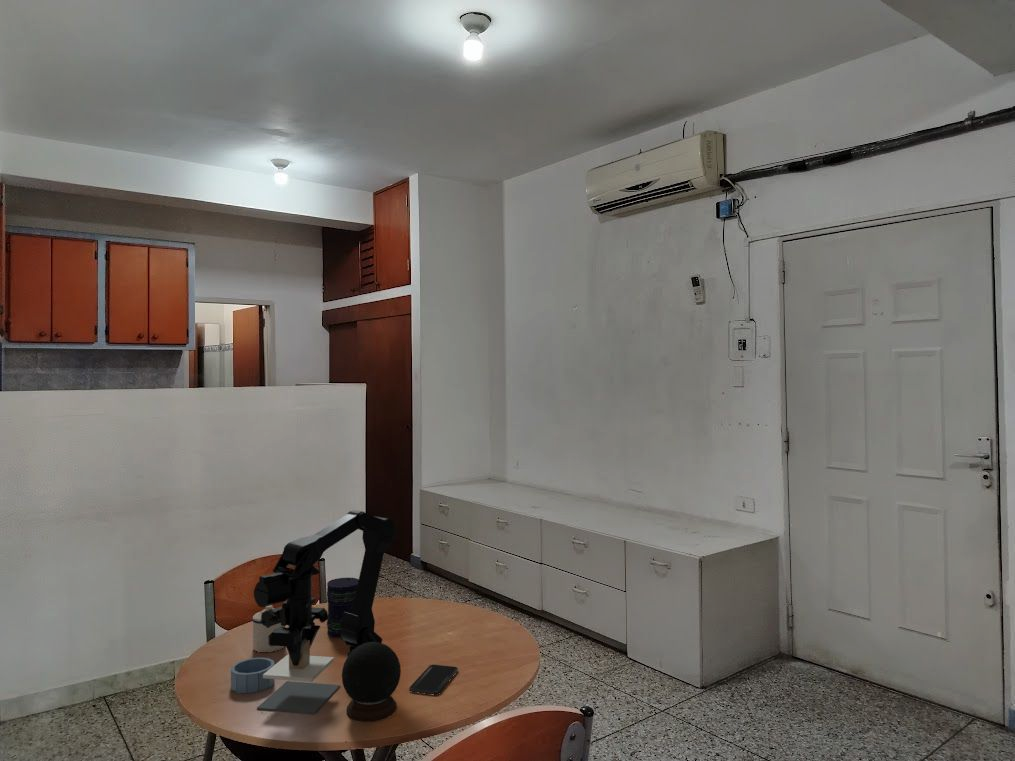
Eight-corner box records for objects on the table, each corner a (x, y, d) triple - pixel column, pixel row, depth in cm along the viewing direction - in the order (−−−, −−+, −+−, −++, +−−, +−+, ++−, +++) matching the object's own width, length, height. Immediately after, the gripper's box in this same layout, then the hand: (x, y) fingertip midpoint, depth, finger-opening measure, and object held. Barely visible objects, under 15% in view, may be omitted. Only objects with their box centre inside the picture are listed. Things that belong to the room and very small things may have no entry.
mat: (340, 686, 167) (340, 685, 167) (314, 714, 153) (314, 712, 153) (286, 682, 170) (286, 681, 170) (256, 709, 156) (256, 707, 156)
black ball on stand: (372, 691, 165) (372, 629, 165) (412, 706, 157) (412, 641, 157) (329, 713, 154) (329, 646, 154) (370, 730, 146) (370, 660, 146)
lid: (333, 660, 166) (333, 634, 166) (311, 681, 155) (311, 653, 155) (288, 657, 168) (288, 631, 168) (262, 678, 157) (262, 650, 157)
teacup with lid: (274, 655, 187) (274, 612, 187) (245, 652, 189) (245, 610, 189) (297, 639, 199) (297, 599, 199) (270, 636, 201) (270, 596, 201)
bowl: (281, 676, 173) (281, 659, 173) (260, 694, 163) (260, 675, 163) (245, 674, 175) (245, 656, 175) (222, 691, 165) (222, 672, 165)
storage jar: (349, 639, 198) (349, 588, 198) (320, 636, 201) (320, 585, 201) (366, 628, 207) (366, 578, 207) (338, 624, 210) (338, 576, 210)
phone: (407, 689, 164) (431, 664, 179) (407, 693, 164) (431, 668, 179) (438, 692, 162) (459, 667, 177) (438, 697, 162) (459, 671, 177)
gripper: (286, 583, 172) (286, 645, 172) (246, 607, 154) (246, 676, 154) (328, 585, 170) (328, 647, 170) (292, 609, 152) (292, 680, 152)
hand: (299, 662), depth 161 cm, fingers closed on lid, 3 cm apart
